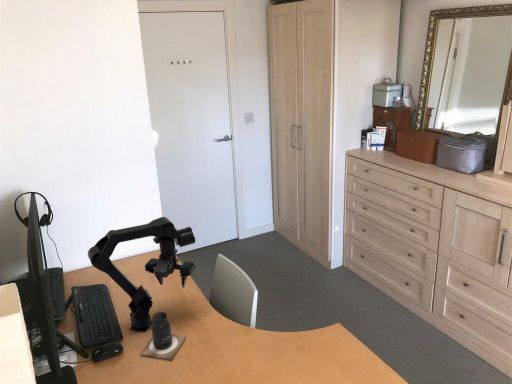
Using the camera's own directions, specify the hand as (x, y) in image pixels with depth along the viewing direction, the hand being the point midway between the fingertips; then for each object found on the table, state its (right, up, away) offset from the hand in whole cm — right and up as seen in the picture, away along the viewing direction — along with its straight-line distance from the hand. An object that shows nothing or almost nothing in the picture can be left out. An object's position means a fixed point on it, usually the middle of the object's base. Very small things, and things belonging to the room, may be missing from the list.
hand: (172, 285), depth 173 cm
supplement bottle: (-1, -18, -14) cm, 23 cm away
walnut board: (0, -19, -14) cm, 23 cm away
